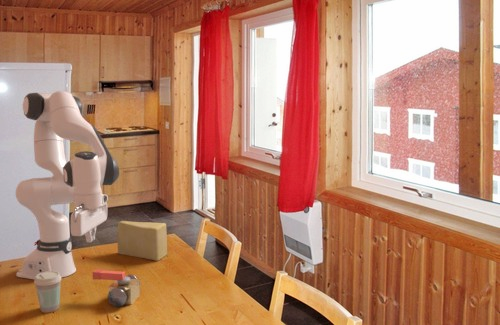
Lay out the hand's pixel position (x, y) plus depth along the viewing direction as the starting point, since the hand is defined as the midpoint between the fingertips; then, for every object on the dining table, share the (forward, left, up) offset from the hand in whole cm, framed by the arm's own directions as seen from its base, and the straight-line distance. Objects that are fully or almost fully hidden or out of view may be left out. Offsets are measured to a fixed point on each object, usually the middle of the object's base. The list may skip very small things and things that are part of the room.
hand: (90, 241), depth 168 cm
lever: (+4, +6, -17) cm, 18 cm away
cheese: (-3, +50, -23) cm, 55 cm away
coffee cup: (-14, -5, -23) cm, 27 cm away
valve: (+8, +6, -23) cm, 25 cm away
